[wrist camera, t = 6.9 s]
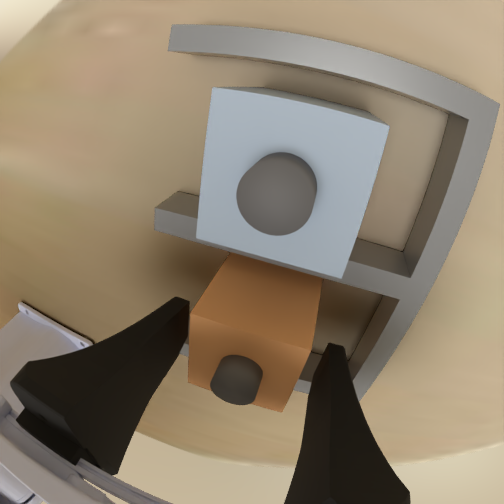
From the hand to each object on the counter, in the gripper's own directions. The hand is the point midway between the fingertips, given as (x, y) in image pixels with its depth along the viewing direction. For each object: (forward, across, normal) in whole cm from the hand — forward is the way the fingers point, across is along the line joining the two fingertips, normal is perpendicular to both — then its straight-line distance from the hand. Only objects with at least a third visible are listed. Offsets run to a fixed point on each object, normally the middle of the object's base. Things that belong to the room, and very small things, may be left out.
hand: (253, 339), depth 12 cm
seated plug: (+3, 0, -7) cm, 8 cm away
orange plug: (+3, 0, 0) cm, 3 cm away
